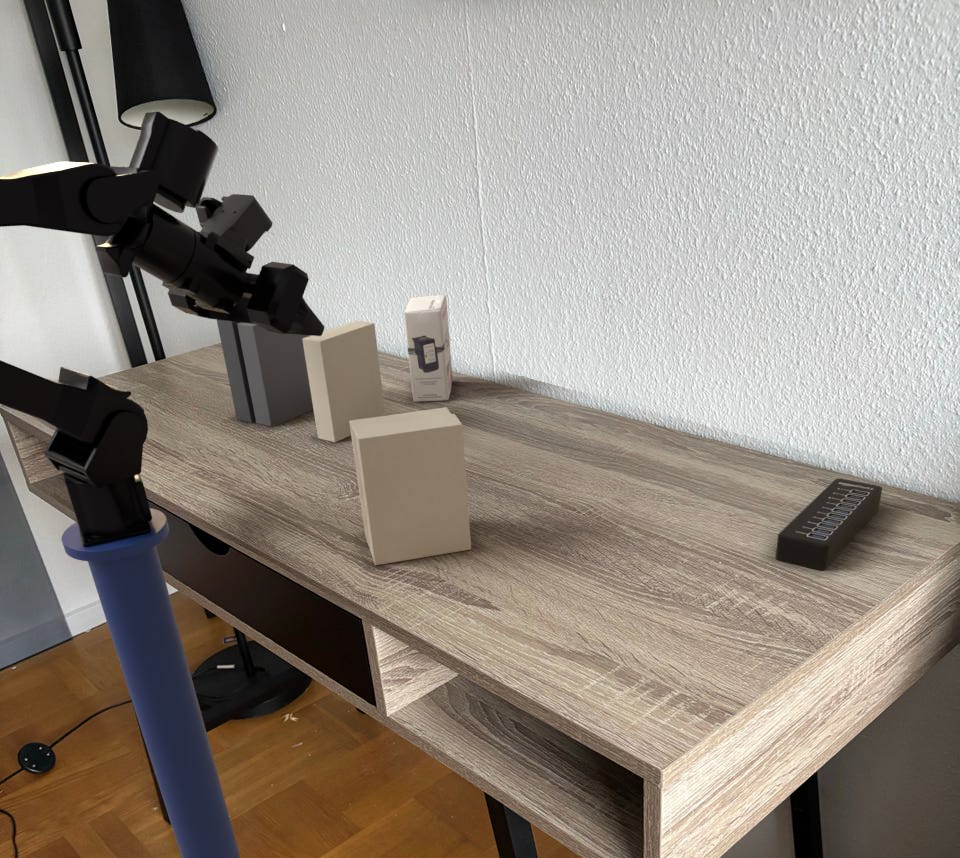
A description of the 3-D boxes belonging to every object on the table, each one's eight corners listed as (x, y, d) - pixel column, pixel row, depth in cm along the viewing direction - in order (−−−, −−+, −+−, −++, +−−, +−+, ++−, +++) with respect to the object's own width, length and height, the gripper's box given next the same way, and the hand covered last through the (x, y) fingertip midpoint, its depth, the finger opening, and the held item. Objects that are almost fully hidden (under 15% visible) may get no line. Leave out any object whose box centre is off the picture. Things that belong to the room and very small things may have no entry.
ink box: (418, 383, 132) (409, 295, 125) (453, 381, 131) (446, 293, 125) (412, 402, 124) (402, 310, 118) (449, 401, 124) (442, 308, 118)
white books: (375, 565, 86) (358, 438, 79) (365, 536, 91) (348, 415, 84) (471, 549, 87) (462, 424, 81) (456, 521, 92) (446, 401, 86)
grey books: (269, 427, 119) (250, 322, 113) (236, 419, 123) (215, 317, 116) (324, 405, 126) (309, 304, 119) (291, 398, 129) (274, 299, 122)
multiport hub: (773, 559, 82) (776, 535, 81) (833, 499, 91) (836, 477, 90) (824, 571, 80) (827, 546, 78) (879, 508, 89) (883, 485, 88)
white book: (335, 442, 113) (320, 341, 107) (317, 438, 115) (301, 338, 109) (385, 420, 119) (374, 322, 113) (368, 416, 121) (356, 320, 114)
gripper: (264, 176, 84) (379, 262, 97) (153, 171, 95) (269, 249, 108) (221, 295, 85) (340, 365, 97) (116, 275, 96) (235, 341, 109)
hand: (295, 326), depth 103 cm, fingers open, 9 cm apart
